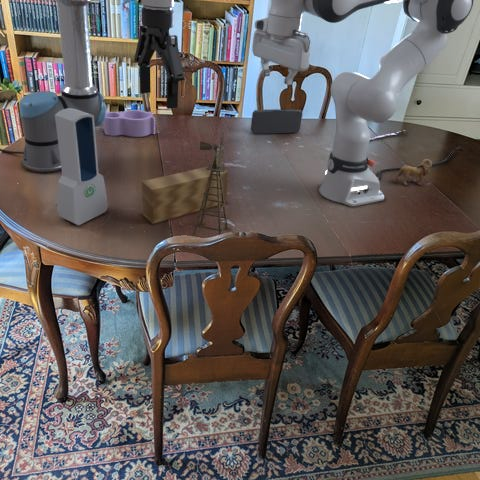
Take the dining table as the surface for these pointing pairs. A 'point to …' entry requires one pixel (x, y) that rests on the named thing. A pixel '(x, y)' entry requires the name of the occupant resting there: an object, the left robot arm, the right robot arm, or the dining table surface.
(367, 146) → the right robot arm
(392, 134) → the sword
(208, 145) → the miniature windmill
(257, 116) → the handheld gaming console
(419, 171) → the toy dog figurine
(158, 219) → the box
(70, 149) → the electronic device
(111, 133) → the purple double bowl
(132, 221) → the dining table surface
